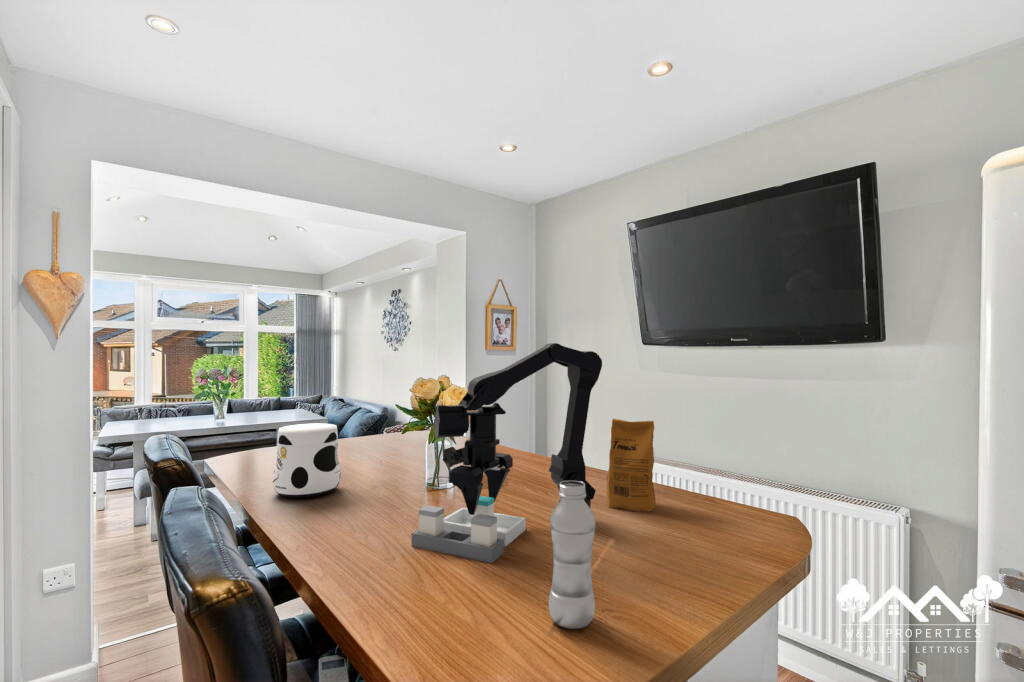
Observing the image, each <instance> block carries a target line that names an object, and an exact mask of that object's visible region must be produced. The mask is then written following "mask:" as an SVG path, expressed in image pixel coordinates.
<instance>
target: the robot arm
mask: <svg viewBox="0 0 1024 682" xmlns="http://www.w3.org/2000/svg"><path fill="white" fill-rule="evenodd" d="M554 363H556V364H557V365H560V366H562V367H565V368H567V379H568V382H569V387H570V388H569V389H570V391H569V396H568V397H569V398H568V403H567V411H566V417H565V425H564V430H563V438H562V445H561V448H560V450H559V452H558V453H557V454H554V453H552V454H551V458H550V459H551V463H550V466H549V469H548V471H549V473H550V478H551V480H552V481H553V483H554V484H555V485H556V487H557V488H558V492H560V482H562V481H580V482H583V483H585V493H586V498H584V501H585V502H586V504H587V505H588V506H589V508H590V509H591V507H592V506H591V500H593V499H595V498H594V497H595V494H596V491H597V490H596V489H595V488H594V487H593V486H592V485H591V484H590V483H589V482H588V481H587V480H586V479H587V477H586V476H587V475H586V464H585V460H584V454H583V448H584V441H585V436H586V435H585V434H586V428H587V422H588V421H587V420H588V413H589V406H590V400H591V395H592V394H591V393H592V390H593V388H594V387H595V386H596V383H597V382H598V381H599V377H600V374H601V371H602V367H603V360H602V358H601V356H600V355H599V354H598V353H597V352H595V351H593V350H591V351H590V350H588V351H585V350H584V351H583V350H578V349H574V348H572V347H568V346H564V345H562V344H560V343H559V342H558V343H556V342H555V343H554V342H553V343H552V342H550V343H546V344H545V345H543V346H542V347H541V348H539V349H537V350H535V351H534V352H531V353H530V354H529V355H526V356H524V357H523V358H521V359H519V360H517V361H515V362H513V363H512V364H510V365H508V366H506V367H504V368H502V369H499V370H496V371H493V372H488V373H485V374H482V375H480V376H476V377H474V378H473V379H471V380H470V381H469V383H468V386H467V392H466V393H465V394H464V396H463V398H462V399H461V400H460V402H459V403H457V404H456V405H454V404H453V405H446V404H437V405H436V411H435V413H434V414H435V415H434V419H433V430H434V436H435V438H436V439H441V438H456V437H457V438H459V437H464V435H465V434H467V433H468V431H469V439H466V440H465V442H464V447H461V448H458V449H456V448H455V447H454V446H451V447H447V448H445V449H443V453H442V462H444V463H445V464H446V465H448V468H451V470H450V471H448V484H449V483H450V484H452V486H454V487H457V488H458V489H459V490H460V491H461V493H462V497H463V499H464V502H465V506H466V508H467V509H468V512H469V514H470V515H474V514H475V511H476V508H477V505H478V501H479V498H480V496H481V494H482V490H483V486H484V482H483V479H484V475H485V476H486V479H487V490H488V491H487V493H488V497H492V498H494V503H495V502H496V500H497V497H498V496H499V492H500V491H501V489H502V487H503V484H504V483H505V480H506V479H507V476H508V474H509V473H510V471H511V468H513V466H514V464H513V461H514V458H513V457H512V456H511V454H510V453H509V454H508V453H502V452H501V453H500V452H497V446H498V445H500V444H501V443H500V441H501V440H500V438H497V415H506V410H505V409H504V408H502V407H501V406H500V403H499V402H497V401H498V400H500V398H502V397H503V396H504V395H505V394H507V392H508V391H509V390H510V389H511V388H512V387H513V386H514V385H516V384H517V383H519V382H521V381H522V380H525V379H526V378H528V377H530V376H531V375H533V374H535V373H537V372H538V371H540V370H542V369H544V368H546V367H547V366H550V365H551V364H554ZM458 464H462V465H458ZM455 465H458V466H456V467H454V466H455ZM452 467H453V468H452ZM559 502H560V500H558V503H559Z"/></svg>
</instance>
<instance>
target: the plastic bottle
mask: <svg viewBox="0 0 1024 682" xmlns="http://www.w3.org/2000/svg"><path fill="white" fill-rule="evenodd" d="M558 497H560V500H559V501H560V502H559V501H558V503H557V504H556V505H555V507H554V508H553V510H552V512H551V515H550V519H549V523H550V525H549V526H550V533H551V540H552V555H553V566H552V567H553V570H552V581H551V587H550V591H549V597H548V610H549V616H550V617H551V619H552V620H553V622H554V623H555V624H556V625H558V626H559V627H561V628H565V629H569V630H578V629H584V628H586V627H587V626H589V624H590V623H591V622H592V620H593V619H594V616H595V611H596V602H595V594H594V591H593V582H592V581H593V580H592V556H593V555H592V554H593V545H594V537H595V529H596V524H597V523H596V518H595V514H594V513H593V511H592V509H591V507H590V508H589V506H588V505H587V504H586V502H585V501H584V498H586V493H585V483H583V482H580V481H562V482H560V491H558Z"/></svg>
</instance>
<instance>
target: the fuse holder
mask: <svg viewBox="0 0 1024 682" xmlns="http://www.w3.org/2000/svg"><path fill="white" fill-rule="evenodd" d="M411 547H415V548H419V549H424V550H427V551H433V552H439V553H442V554H443V553H444V554H447V555H451V556H457V557H461V558H467V559H470V560H474V561H475V560H476V561H480V562H484V563H489V564H493V563H494V562H495V561H496V560H497V559H499V558H500V557H501V556H502V555H503V554H504V553H505V550H504V549H505V546H504V540H503V539H498V538H497V542H496V543H495V544H494V545H492V546H491V547H487V546H482V545H477V544H472V543H471V533H466V532H461V531H455V530H450V529H445V528H444V532H442V533H441V534H439V535H437V536H432V535H427V534H422V533H419V528H418V529H416V530H415V531H412V532H411Z"/></svg>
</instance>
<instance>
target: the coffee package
mask: <svg viewBox="0 0 1024 682" xmlns="http://www.w3.org/2000/svg"><path fill="white" fill-rule="evenodd" d="M654 432H655V422H654V420H641V421H640V420H639V421H628V420H622V419H618V418H614V417H613V418H612V420H611V427H610V449H609V455H608V456H609V462H608V463H609V464H608V472H607V474H606V504H607V507H608V508H610V507H611V509H612V508H615V509H618V508H619V509H625V510H627V511H629V512H652V511H653V510H654V507H655V506H656V504H657V501H656V500H657V499H656V493H655V487H654V482H653V478H654V473H653V470H654V463H655V457H654V455H655V454H654V453H655V452H654V446H653V445H654Z"/></svg>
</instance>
